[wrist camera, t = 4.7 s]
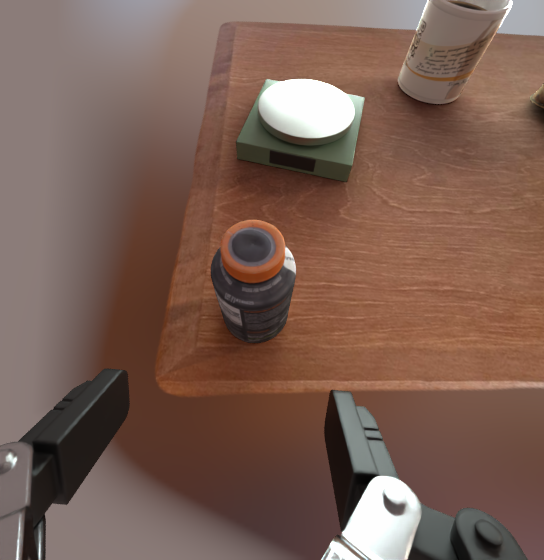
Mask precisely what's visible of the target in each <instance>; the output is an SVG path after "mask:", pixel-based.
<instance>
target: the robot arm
mask: <svg viewBox="0 0 544 560" xmlns="http://www.w3.org/2000/svg"><path fill="white" fill-rule="evenodd" d="M129 404H130V403H129V387H128V374H127V371H125V370H116V369H104V370H102V371H101V372H100V373H99V374H98V375H97V376H96V377H95V378H94V379H93V380H92V381H86V382H85V383H83V384H81V385H79V386H77V387H76V388H74V389H73V390H72V391H70V392H69V393H68V395H66V396H65V397H64V398H63V400H62V401H60V402H59V403H58V404H57V405H56V406H55V407H54V409H53V410H51V411H49V412H48V413H47V414H46V415H45V416H44V417H43V418H42V419H41V420H40V421H39V422H38V423H37V424H36V425H35V426H34V427H33V428H32V429H31V430H30V431H28V432H27V433H26V434H25V435H24V436H23V437H22V438H21V439H20V440H19V441H18V442H11V443H7V444H3V445H1V446H0V560H45V535H46V534H45V533H46V532H45V531H46V525H45V524H46V519H45V512H46V511H47V510H48V508H49V507H50V505H51V504H52V503H55V504H66V505H67V504H68V503H69V501H70V500H71V498H72V497H73V495H74V494H75V492H76V491H77V489H78V488H79V487H80V485H81V484H82V482H83V481H84V479H85V478H86V476H87V475H88V473H89V472H90V470H91V469H92V467H93V466H94V464H95V463H96V462H97V460H98V459H99V457H100V456H101V454H102V453H103V451H104V450H105V448H106V447H107V445H108V444H109V442H110V441H111V439H112V438H113V437H114V435H115V434H116V432H117V430H118V429H119V428H120V426H121V425H122V423H123V422H124V420H125V419H126V416H127V414H128V410H129ZM324 429H325V430H324V431H325V432H324V433H325V442H326V448H327V454H328V460H329V465H330V471H331V476H332V482H333V488H334V494H335V499H336V504H337V511H338V517H339V522H340V527H341V532H343V533H342V534H341V536H339V535H336V536H335V538H334V539H333V541H332V542H331V544H330V546H329V547H328V549H327V551H326V553H325V555H324V556H323V558H322V560H527V558H526V556H525V554H524V553H523V551H522V550H521V548H520V546H519V545H518V543H517V541H516V540H515V539H514V537H513V536H512V534H511V533H510V532H509V531H508V530H507V529H506V528H505V527H504V526H503V525H502V524H501V523H500V522H499V521H498V520H496V519H495V518H493V517H492V516H490V515H489V514H487V513H485V512H483V511H480V510H478V509H474V508H463V509H461V510H460V511H458V513H457V514H456V517H455V518H454V517H451V516H449V515H446V514H444V513H441V512H439V511H436V510H434V509H431V508H429V507H427V506H425V505H423V504H421V503H420V502H419V500H418V498H417V496H416V495H415V493H414V492H413V491H412V490H411V489H410V488H409V487H408V486H407V485H406V484H405V483H403V482H402V481H400V479H399V477H398V475H397V472H396V470H395V467H394V465H393V463H392V460H391V458H390V455H389V453H388V450H387V448H386V446H385V443H384V441H383V438H382V436H381V433H380V431H379V428H378V426H377V423H376V421H375V418H374V417H373V416H372V414H371V413H370V412H369V411H368V410H367V409H366V408H365V407H361V406H356V405H355V402H354V399H353V396H352V393H351V392H349V391H338V390H331V391H330V395H329V401H328V407H327V413H326V418H325V427H324Z"/></svg>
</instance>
